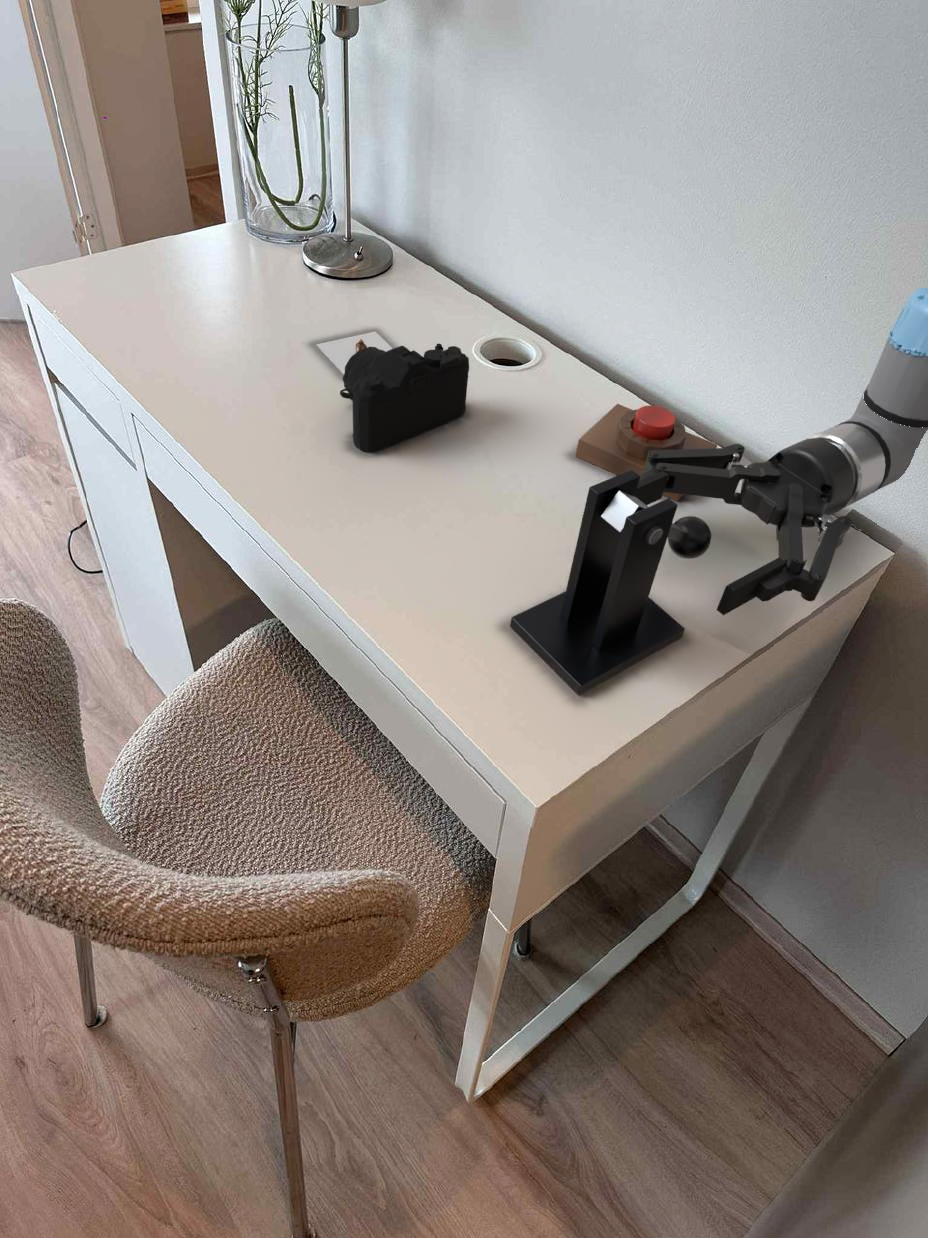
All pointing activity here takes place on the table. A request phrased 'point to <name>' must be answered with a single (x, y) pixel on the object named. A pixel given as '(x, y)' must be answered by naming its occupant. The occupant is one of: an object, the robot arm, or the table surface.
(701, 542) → the switch lever
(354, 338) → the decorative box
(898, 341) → the robot arm
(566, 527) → the table surface
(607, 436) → the brown button base
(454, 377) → the film camera
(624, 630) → the black lever stand
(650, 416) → the button
